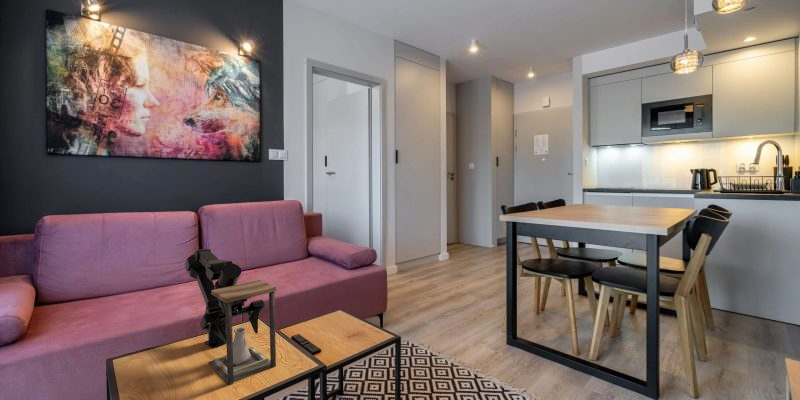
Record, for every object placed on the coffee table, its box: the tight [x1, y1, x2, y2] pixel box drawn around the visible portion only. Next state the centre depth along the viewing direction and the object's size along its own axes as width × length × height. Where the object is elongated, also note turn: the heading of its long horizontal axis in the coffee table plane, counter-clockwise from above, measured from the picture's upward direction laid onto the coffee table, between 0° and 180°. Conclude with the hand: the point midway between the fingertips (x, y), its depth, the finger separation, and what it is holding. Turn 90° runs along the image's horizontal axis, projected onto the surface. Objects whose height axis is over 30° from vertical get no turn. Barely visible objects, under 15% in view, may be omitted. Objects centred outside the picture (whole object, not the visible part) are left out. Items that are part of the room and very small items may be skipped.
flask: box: [225, 326, 251, 365], centre depth 115 cm, size 7×7×10 cm
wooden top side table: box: [208, 279, 277, 386], centre depth 114 cm, size 17×15×25 cm
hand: (242, 337), depth 113 cm, fingers open, 9 cm apart
